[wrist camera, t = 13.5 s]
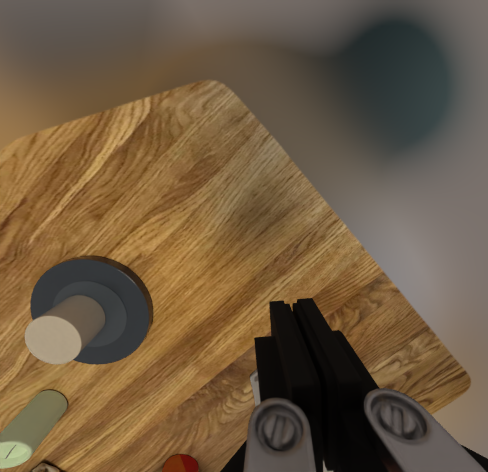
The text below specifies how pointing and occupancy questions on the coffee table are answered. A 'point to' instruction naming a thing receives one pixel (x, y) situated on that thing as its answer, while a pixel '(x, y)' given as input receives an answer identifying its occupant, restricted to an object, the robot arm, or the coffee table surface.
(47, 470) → the basket
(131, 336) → the plate
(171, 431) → the coffee table surface
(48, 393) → the candle
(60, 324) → the short beige cylinder
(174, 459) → the coffee cup
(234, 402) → the coffee table surface
